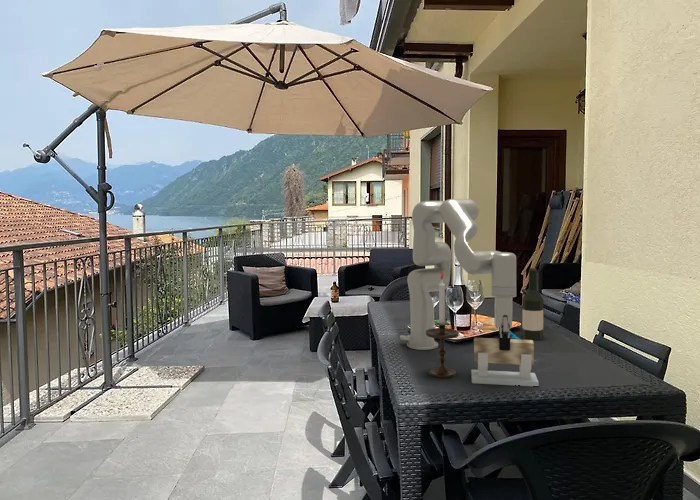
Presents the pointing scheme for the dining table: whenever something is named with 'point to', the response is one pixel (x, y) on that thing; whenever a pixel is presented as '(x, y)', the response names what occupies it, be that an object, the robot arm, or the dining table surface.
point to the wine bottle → (532, 310)
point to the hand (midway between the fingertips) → (504, 347)
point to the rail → (502, 355)
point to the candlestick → (442, 337)
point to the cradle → (504, 373)
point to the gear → (513, 336)
